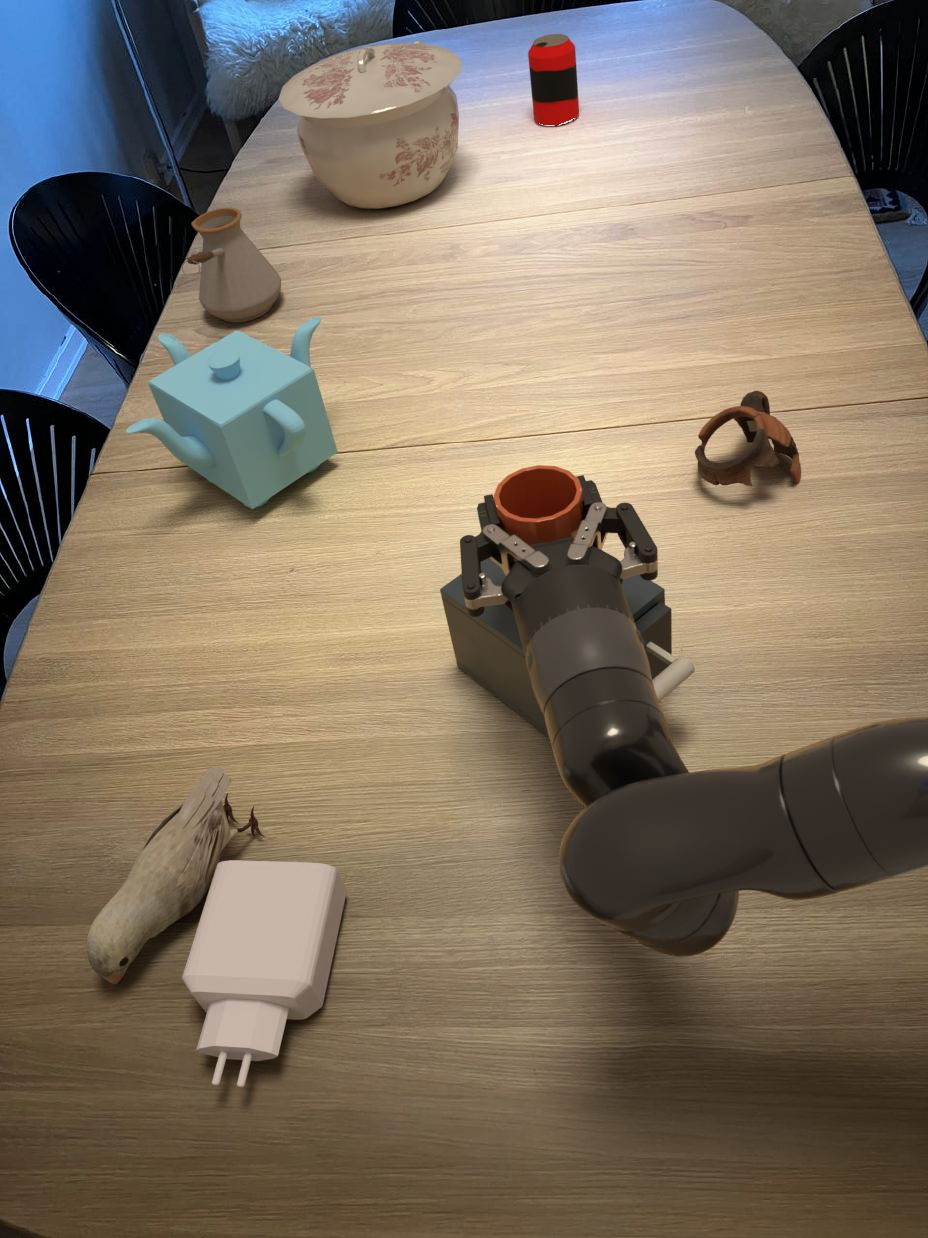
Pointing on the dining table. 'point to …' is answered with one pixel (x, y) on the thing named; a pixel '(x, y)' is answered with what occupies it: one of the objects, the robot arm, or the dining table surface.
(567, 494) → the cup
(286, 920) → the charger
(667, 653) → the drawer
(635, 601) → the cabinet
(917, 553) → the dining table surface
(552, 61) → the soda can
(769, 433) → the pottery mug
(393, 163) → the chamber pot
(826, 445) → the dining table surface
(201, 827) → the decorative bird
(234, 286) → the coffee pot
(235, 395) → the teakettle
